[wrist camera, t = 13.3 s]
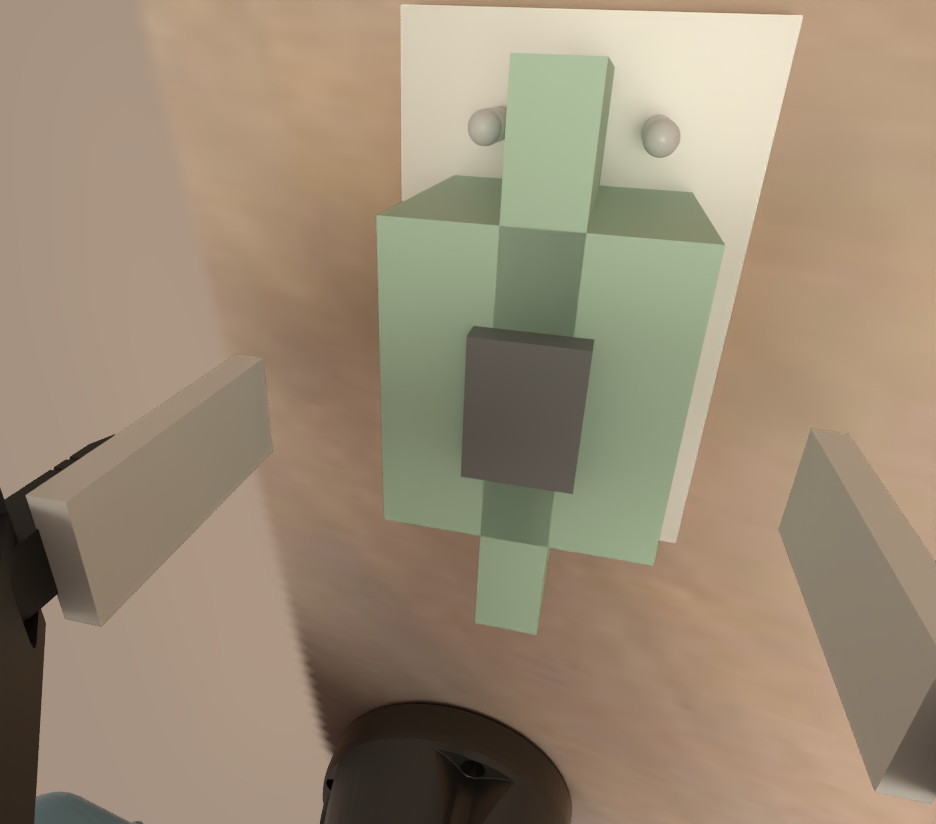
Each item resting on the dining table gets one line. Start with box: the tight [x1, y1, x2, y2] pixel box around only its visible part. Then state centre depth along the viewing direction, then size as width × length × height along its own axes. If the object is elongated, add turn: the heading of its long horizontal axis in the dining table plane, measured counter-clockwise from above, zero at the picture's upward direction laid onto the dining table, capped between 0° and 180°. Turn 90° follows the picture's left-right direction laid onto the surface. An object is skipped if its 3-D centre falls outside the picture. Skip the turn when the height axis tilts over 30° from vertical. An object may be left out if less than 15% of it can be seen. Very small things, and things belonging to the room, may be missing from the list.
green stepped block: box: [376, 53, 725, 635], centre depth 20 cm, size 16×8×9 cm, turn 178°
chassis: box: [401, 4, 803, 543], centre depth 23 cm, size 19×12×5 cm, turn 177°
